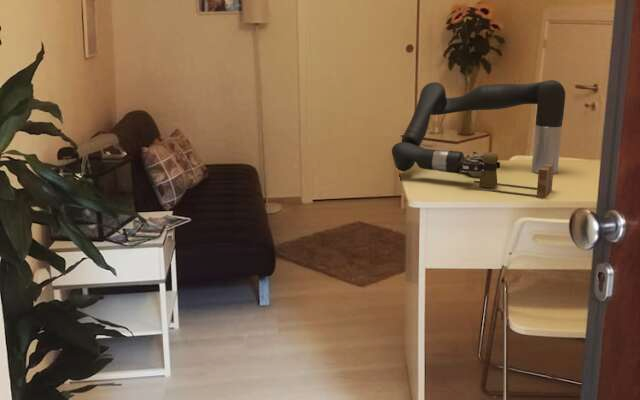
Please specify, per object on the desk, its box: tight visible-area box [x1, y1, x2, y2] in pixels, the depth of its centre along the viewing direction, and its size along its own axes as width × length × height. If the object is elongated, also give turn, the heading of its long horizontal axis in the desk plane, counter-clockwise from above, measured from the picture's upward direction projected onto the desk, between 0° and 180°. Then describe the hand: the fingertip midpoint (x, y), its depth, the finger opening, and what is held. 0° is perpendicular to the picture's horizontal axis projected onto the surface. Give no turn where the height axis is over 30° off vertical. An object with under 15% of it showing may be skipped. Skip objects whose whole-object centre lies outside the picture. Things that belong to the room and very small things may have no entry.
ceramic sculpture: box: [462, 151, 482, 178], centre depth 257 cm, size 11×9×15 cm
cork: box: [478, 151, 499, 188], centre depth 238 cm, size 6×6×11 cm
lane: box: [465, 163, 554, 199], centre depth 235 cm, size 12×26×9 cm, turn 62°
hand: (497, 166), depth 236 cm, fingers closed on cork, 3 cm apart
